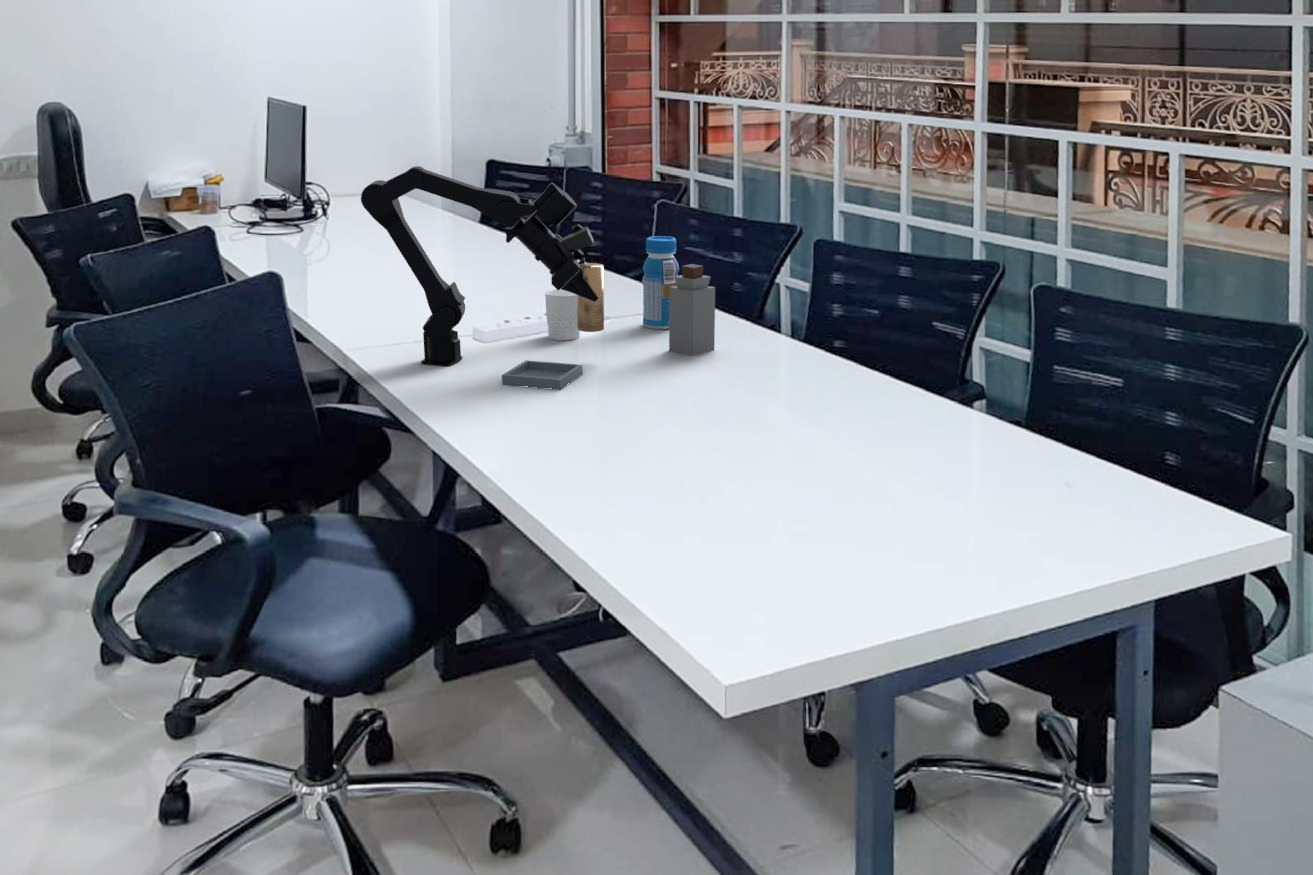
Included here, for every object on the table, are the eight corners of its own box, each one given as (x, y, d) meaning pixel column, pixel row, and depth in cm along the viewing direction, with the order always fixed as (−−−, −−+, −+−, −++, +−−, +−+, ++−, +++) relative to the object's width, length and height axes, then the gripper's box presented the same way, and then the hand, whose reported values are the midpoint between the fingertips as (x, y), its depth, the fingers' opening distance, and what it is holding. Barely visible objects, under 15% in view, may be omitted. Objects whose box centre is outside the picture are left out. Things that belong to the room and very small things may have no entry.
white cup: (563, 331, 309) (562, 287, 306) (589, 336, 304) (588, 291, 301) (538, 337, 303) (537, 292, 300) (565, 343, 298) (564, 297, 295)
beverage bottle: (639, 329, 311) (639, 240, 305) (645, 321, 319) (645, 234, 313) (676, 330, 310) (676, 241, 304) (682, 322, 318) (682, 235, 311)
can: (573, 330, 279) (572, 267, 275) (583, 325, 284) (582, 262, 280) (598, 332, 278) (598, 268, 274) (607, 327, 283) (607, 264, 279)
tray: (502, 385, 265) (501, 375, 265) (526, 370, 276) (525, 360, 276) (560, 390, 262) (560, 380, 261) (582, 374, 273) (582, 364, 272)
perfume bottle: (714, 350, 292) (715, 265, 287) (692, 355, 288) (693, 270, 282) (690, 345, 297) (691, 261, 291) (669, 350, 292) (669, 266, 287)
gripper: (567, 220, 265) (625, 278, 269) (571, 207, 283) (625, 260, 286) (527, 261, 267) (585, 317, 271) (534, 245, 285) (587, 298, 289)
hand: (597, 297), depth 279 cm, fingers closed on can, 5 cm apart
